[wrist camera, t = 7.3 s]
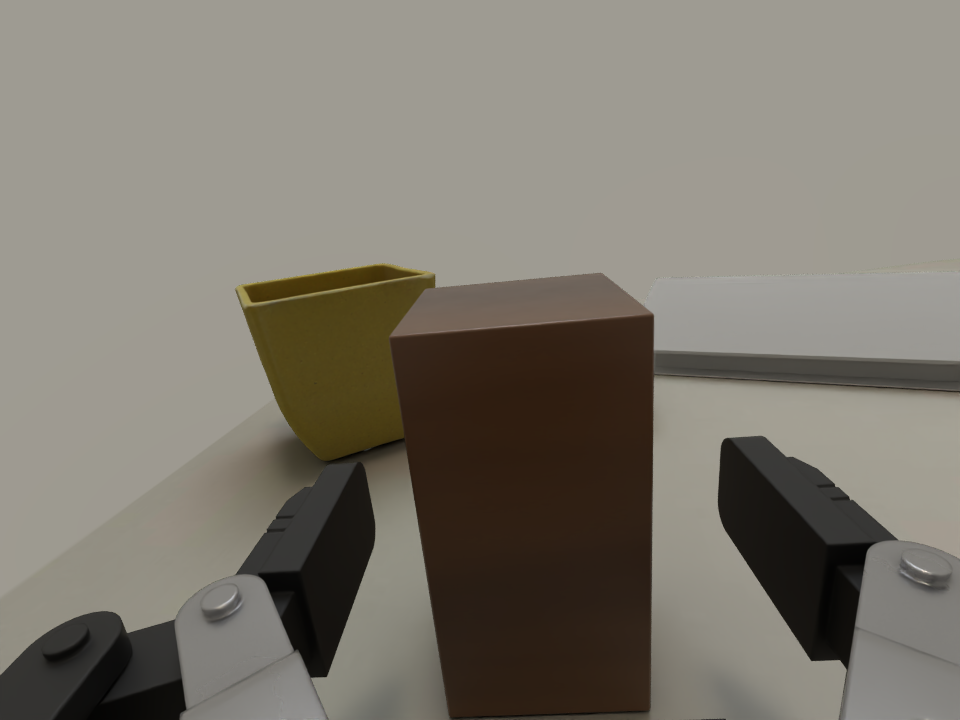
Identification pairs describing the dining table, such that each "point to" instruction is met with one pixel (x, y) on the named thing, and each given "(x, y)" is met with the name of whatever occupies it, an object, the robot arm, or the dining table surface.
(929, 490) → the dining table surface
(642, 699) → the walnut block middle
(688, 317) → the book
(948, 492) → the dining table surface
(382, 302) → the flower pot
